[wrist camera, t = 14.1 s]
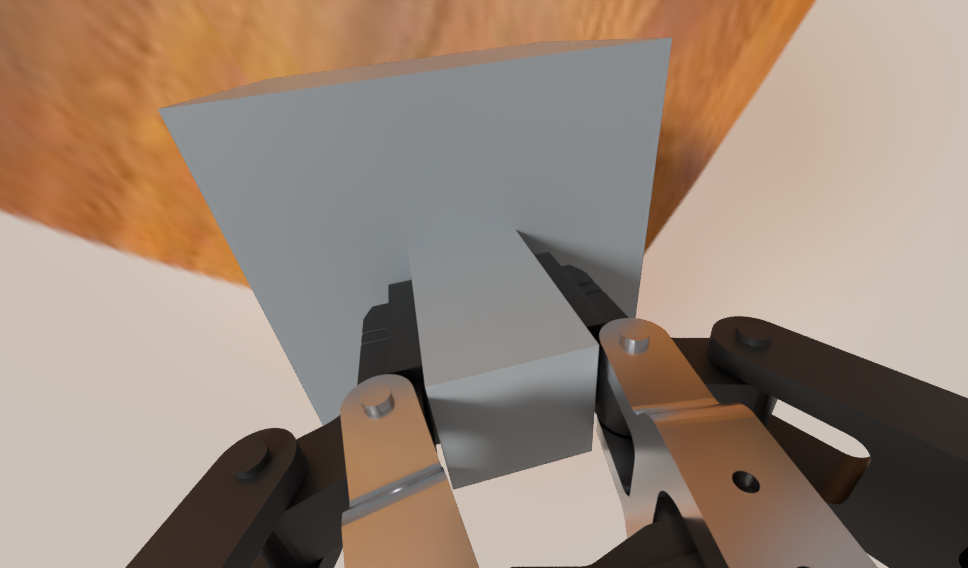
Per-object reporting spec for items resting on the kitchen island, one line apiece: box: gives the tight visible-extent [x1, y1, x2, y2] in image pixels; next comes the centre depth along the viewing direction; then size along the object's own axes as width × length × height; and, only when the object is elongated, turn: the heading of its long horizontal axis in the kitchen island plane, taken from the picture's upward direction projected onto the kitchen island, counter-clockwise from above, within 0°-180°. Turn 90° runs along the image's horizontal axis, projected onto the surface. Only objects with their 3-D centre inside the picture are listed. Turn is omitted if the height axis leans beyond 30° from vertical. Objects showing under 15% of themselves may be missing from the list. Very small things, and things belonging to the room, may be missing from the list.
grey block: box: [158, 37, 672, 489], centre depth 13 cm, size 11×11×14 cm
